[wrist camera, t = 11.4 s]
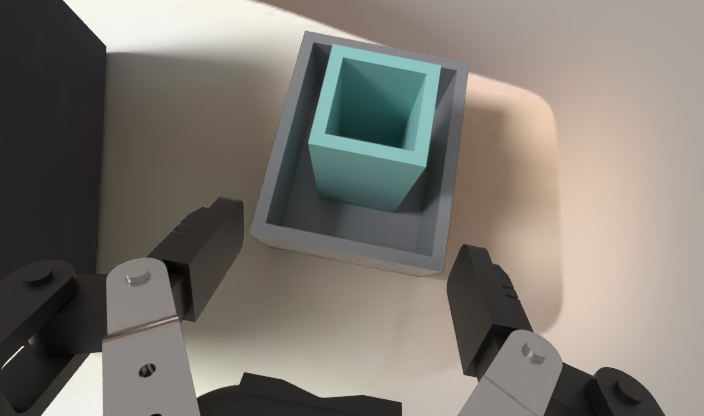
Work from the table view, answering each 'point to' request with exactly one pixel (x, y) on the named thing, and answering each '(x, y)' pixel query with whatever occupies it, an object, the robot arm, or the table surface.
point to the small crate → (372, 127)
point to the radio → (49, 135)
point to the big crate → (350, 220)
